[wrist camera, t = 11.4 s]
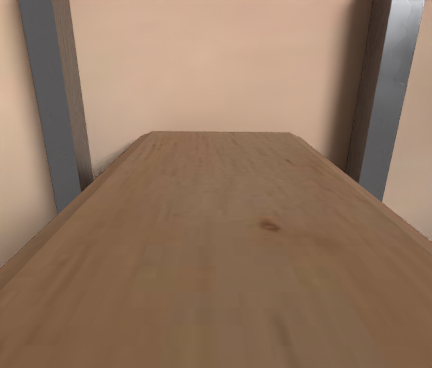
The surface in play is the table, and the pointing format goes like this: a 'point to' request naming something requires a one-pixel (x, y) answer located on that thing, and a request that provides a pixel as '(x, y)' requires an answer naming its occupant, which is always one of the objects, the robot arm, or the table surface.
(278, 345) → the wooden block
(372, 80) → the end stop channel
